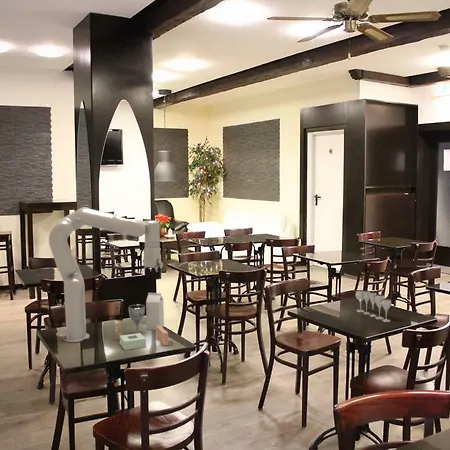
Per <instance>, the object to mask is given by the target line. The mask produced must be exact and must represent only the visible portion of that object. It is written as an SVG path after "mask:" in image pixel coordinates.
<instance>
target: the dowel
mask: <svg viewBox="0 0 450 450" xmlns="http://www.w3.org/2000/svg"><path fill="white" fill-rule="evenodd" d="M114 334H115V337H114V338H115V341H116V342H117V341H119V342H120V336H121V335H122V321H121V320H116V321H114Z"/></svg>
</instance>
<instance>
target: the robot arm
mask: <svg viewBox="0 0 450 450" xmlns="http://www.w3.org/2000/svg"><path fill="white" fill-rule="evenodd" d="M83 226H87V227H92V228H97V229H99V230H100V229H101V230H104V231H108V232H109V231H110V232H113V233H119V234H123V235H125V236H132V237H136V238H139V237H142V236H144V248H143V259H142V264H143V269H144V277H145V278H149V277H151V271H152V270H151V269H153V268H154V269H155V272H154V274H155V275H154V278H155V280H161V279H162V271H163V268H164V267H163V266H164V263H163V262H162V255H161V248H160V246H161V245H160V244H161V241H160V239H161V238H160V237H161V236H160V235H161V234H160V222H159V221H158V220H131V219H128V218H124V217H121V216H118V215H116V214H114V213H110V212H106V211H102V210H97V209H92V208H89V207H87V206H84V207H80V208H79V209H76V210H75V211H73V212H71V213H69V214H67V215H65V216H63V217H61V218H60V219H58V221H56V223H55V225H54V226H53V227H52V229H51V230H50V233H49V235H48V244H49V248H50V251H51V254H52V256H53V260H54V262H55V265H56V269H57V271H58V272H59V274H60V276H61V278H62V282H63V292H64V293H63V294H64V309H65V312H64V313H65V329H64V331H62V332H60V331H59V332H56V338H58V337H59V338H63V341H64V342H66V343H80V342H84V340H88V339H90V334H89V333H87V324H86V323H87V322H86V321H87V320H86V317H87V316H86V300H85V299H86V298H85V297H86V296H85V295H86V294H85V293H86V292H85V291H86V290H85V286H86V285H85V280H84V277H83V275H82V272H81V270H80V267H79V264H78V261H77V258H75V255H73V254H72V251H71V248H70V245H69V243H68V238H69V237H70V235H71V234H72V233H73V232H75V231H76V230H79V229H80V228H82V227H83Z"/></svg>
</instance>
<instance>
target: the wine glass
mask: <svg viewBox="0 0 450 450" xmlns="http://www.w3.org/2000/svg"><path fill="white" fill-rule="evenodd" d="M145 311H146V305H144V304H140V303H139V304H138V303H137V304H131V305H129V306H128V313H129V317H130V319H131V320H132V322H133V323H135V326H136V328H135V329H136V333H139V326H140V323H141V321H142V320H143V319H144V317H145Z"/></svg>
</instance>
